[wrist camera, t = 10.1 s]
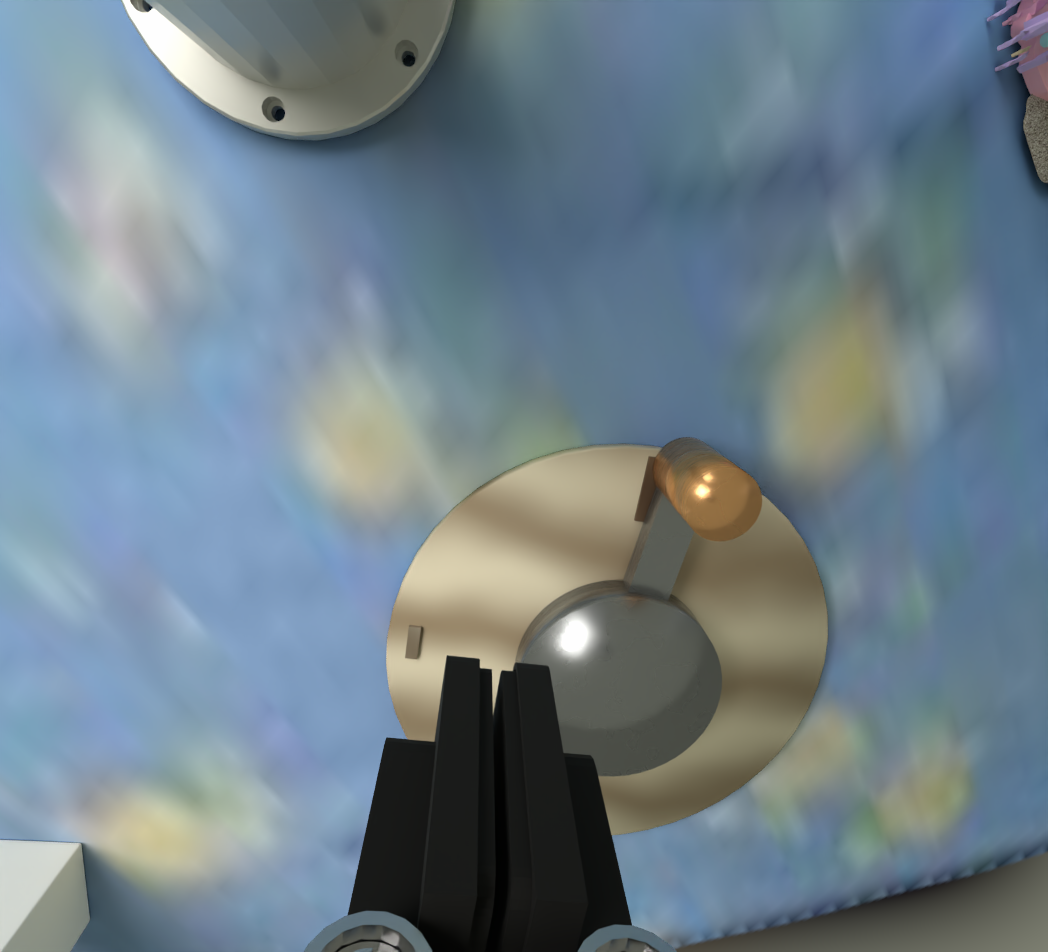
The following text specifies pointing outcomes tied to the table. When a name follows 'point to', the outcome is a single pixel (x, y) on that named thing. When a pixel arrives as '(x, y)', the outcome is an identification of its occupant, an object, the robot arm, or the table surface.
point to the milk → (41, 896)
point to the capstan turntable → (644, 625)
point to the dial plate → (604, 554)
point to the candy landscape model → (1031, 72)
